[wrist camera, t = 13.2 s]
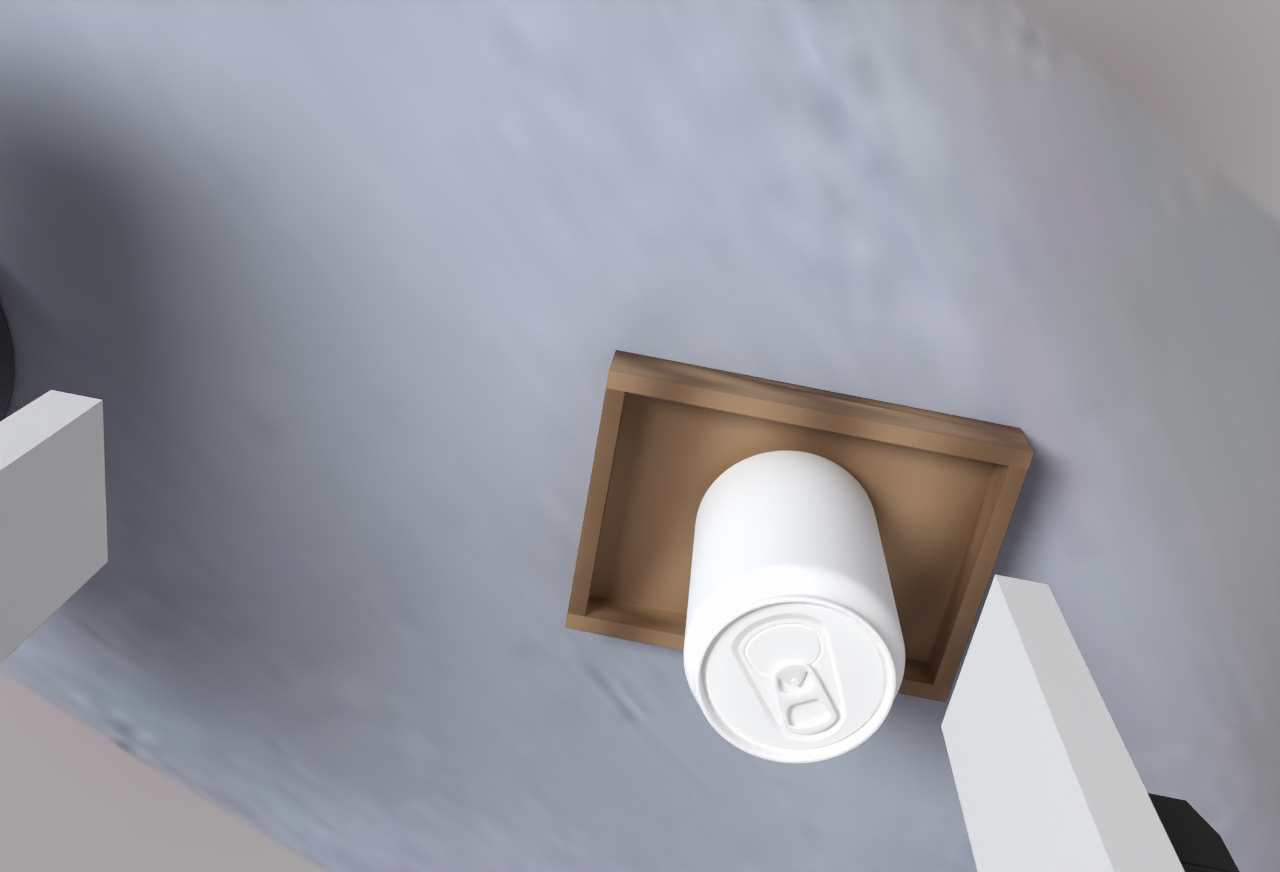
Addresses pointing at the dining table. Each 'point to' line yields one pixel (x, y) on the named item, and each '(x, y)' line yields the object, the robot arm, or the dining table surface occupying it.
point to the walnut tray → (796, 421)
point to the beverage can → (791, 610)
